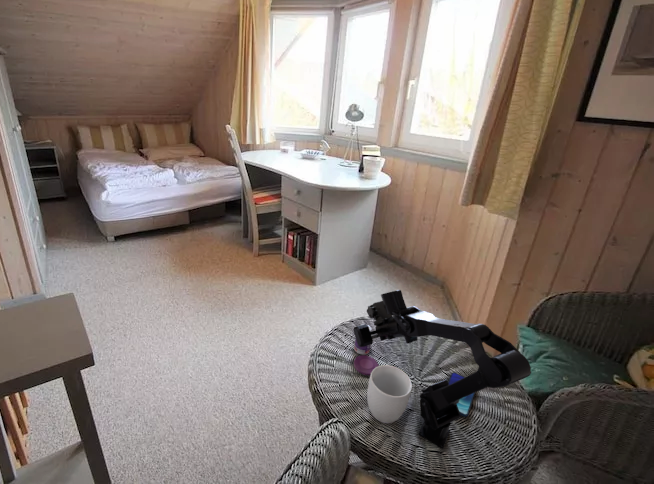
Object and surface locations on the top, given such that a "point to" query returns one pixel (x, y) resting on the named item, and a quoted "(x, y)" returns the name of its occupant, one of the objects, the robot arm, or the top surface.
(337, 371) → the top surface
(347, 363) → the top surface
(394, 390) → the mug
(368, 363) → the plum saucer
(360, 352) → the pill bottle
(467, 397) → the smartphone
